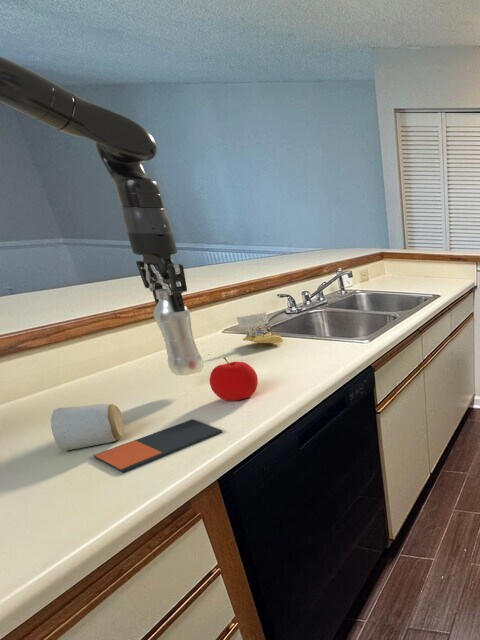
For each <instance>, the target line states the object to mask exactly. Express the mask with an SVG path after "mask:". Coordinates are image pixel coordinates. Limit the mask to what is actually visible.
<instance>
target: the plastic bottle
mask: <svg viewBox="0 0 480 640" xmlns="http://www.w3.org/2000/svg"><path fill="white" fill-rule="evenodd" d="M155 292H156V298H157V299H159V302H158V303H157V305H156V304H155V307H154V309H153V313H152V315H153V318H154V320H155V322H156V324H157V327H158V328H159V331H160V332H161V336H162V338H163V341H164V343H165V348H166V349H165V350H166V355H167V365H168V368H169V370H170V372H171V373H172V374H173V375H175V376H190V375H195V374H198V373H201V372H202V371H203V369H204V366H205V365H204V359H203V358H202V355H201V353H200V352H199V349H198V347H197V344H196V342H195V339H194V335H193V329H192V321H191V313H190V310H189V308H188V307H187V306H186V305H185V304H184V306H185V311H181V312H174V311H173V310H172V306H171V302H170V299H169V294H168V292H167V290H166V288H165V289H158V290H155Z"/></svg>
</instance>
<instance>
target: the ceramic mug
mask: <svg viewBox="0 0 480 640" xmlns="http://www.w3.org/2000/svg"><path fill="white" fill-rule="evenodd" d="M50 426H51V432H52V436H53V438H54V439H53V440H54V442H55V443H56V445H57V446H58V448H59V449H60V450H61V451H64V452H65V451H66V452H67V451H71V450H72V451H73V450H77V449H78V450H79V449H83V448H89V447H93V446H97V445H103V444H108V443H109V444H110V443H113V442H116V441H119V440H120V439H122V438H123V437H124V434H125V423H124V418H123V415H122V412H121V410H120V408H119V407H118V406H117V405H116V404H114V403H98V404H90V405H89V404H88V405H79V406H67V407H57V408H55V409H54V410H52V414H51V418H50Z"/></svg>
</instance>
